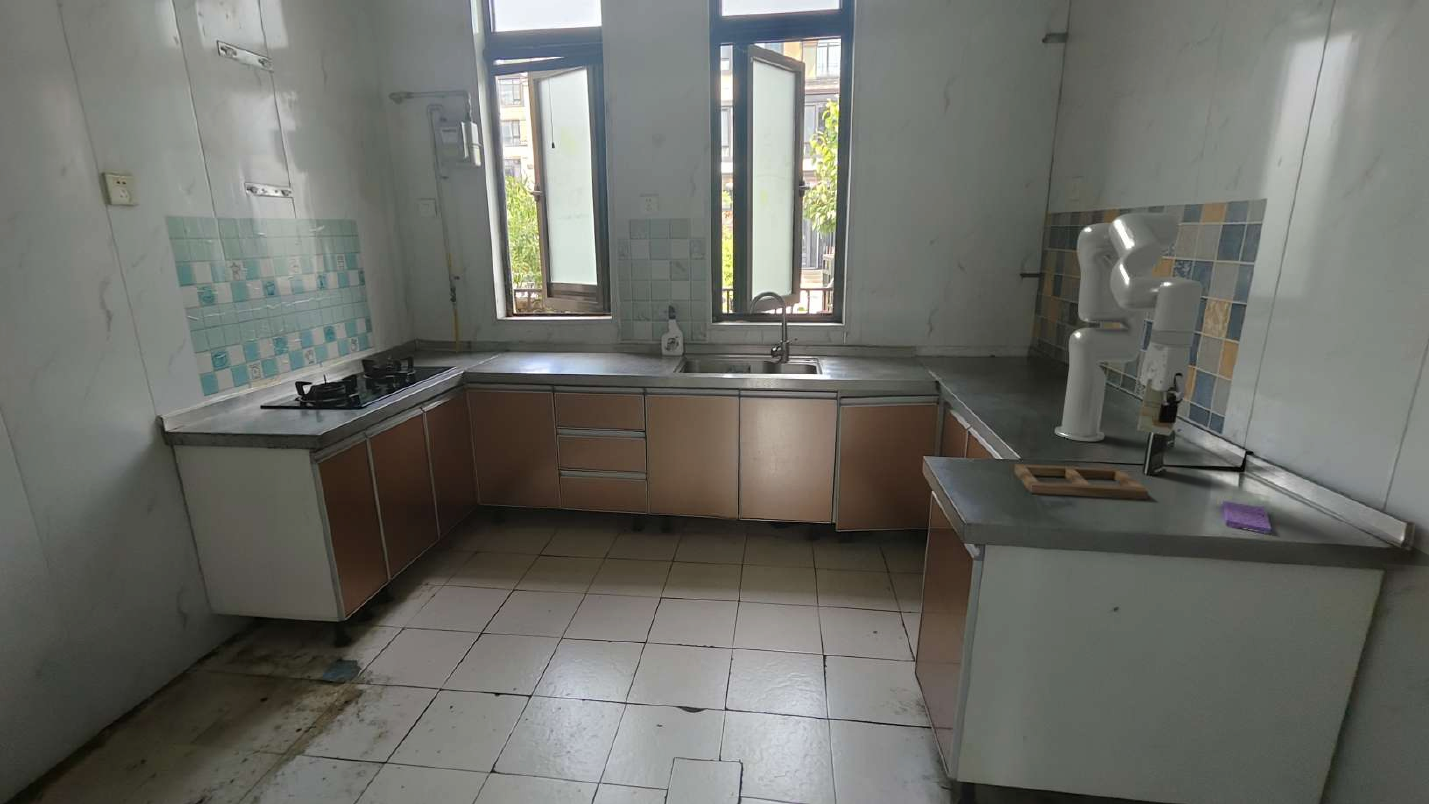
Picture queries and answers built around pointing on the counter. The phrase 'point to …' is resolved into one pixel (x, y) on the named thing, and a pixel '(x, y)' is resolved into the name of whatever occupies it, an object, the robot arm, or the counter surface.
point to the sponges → (1246, 516)
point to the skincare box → (1153, 412)
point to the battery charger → (1157, 452)
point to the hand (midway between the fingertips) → (1157, 417)
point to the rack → (1079, 481)
